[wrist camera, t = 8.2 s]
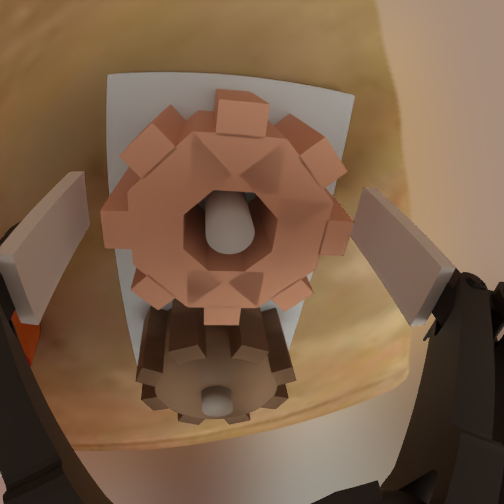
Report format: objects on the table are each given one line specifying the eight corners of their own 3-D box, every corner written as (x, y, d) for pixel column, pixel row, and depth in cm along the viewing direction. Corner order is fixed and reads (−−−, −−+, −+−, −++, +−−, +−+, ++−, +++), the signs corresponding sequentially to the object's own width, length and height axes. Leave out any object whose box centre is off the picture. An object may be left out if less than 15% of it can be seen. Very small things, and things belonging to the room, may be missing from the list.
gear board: (141, 355, 25) (134, 425, 19) (118, 72, 13) (63, 82, 8) (276, 356, 27) (292, 423, 22) (340, 91, 15) (410, 113, 10)
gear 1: (135, 259, 17) (118, 321, 13) (130, 87, 12) (94, 99, 8) (296, 263, 19) (319, 323, 15) (330, 103, 14) (379, 124, 10)
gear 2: (152, 369, 23) (148, 437, 18) (138, 278, 18) (121, 360, 13) (267, 369, 25) (280, 435, 20) (291, 282, 20) (317, 360, 15)
